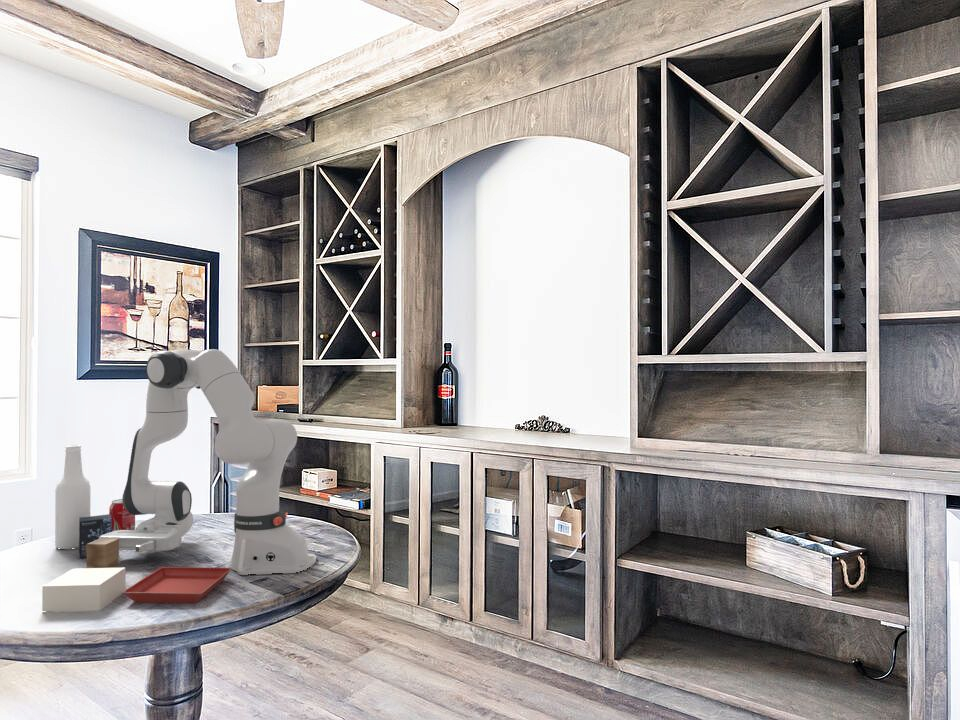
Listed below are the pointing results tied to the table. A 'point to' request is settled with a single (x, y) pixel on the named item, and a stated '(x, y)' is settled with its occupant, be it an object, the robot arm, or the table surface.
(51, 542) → the table surface
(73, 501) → the white bottle
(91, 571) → the plinth
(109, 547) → the walnut block
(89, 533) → the box
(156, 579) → the plant saucer
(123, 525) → the soda can
